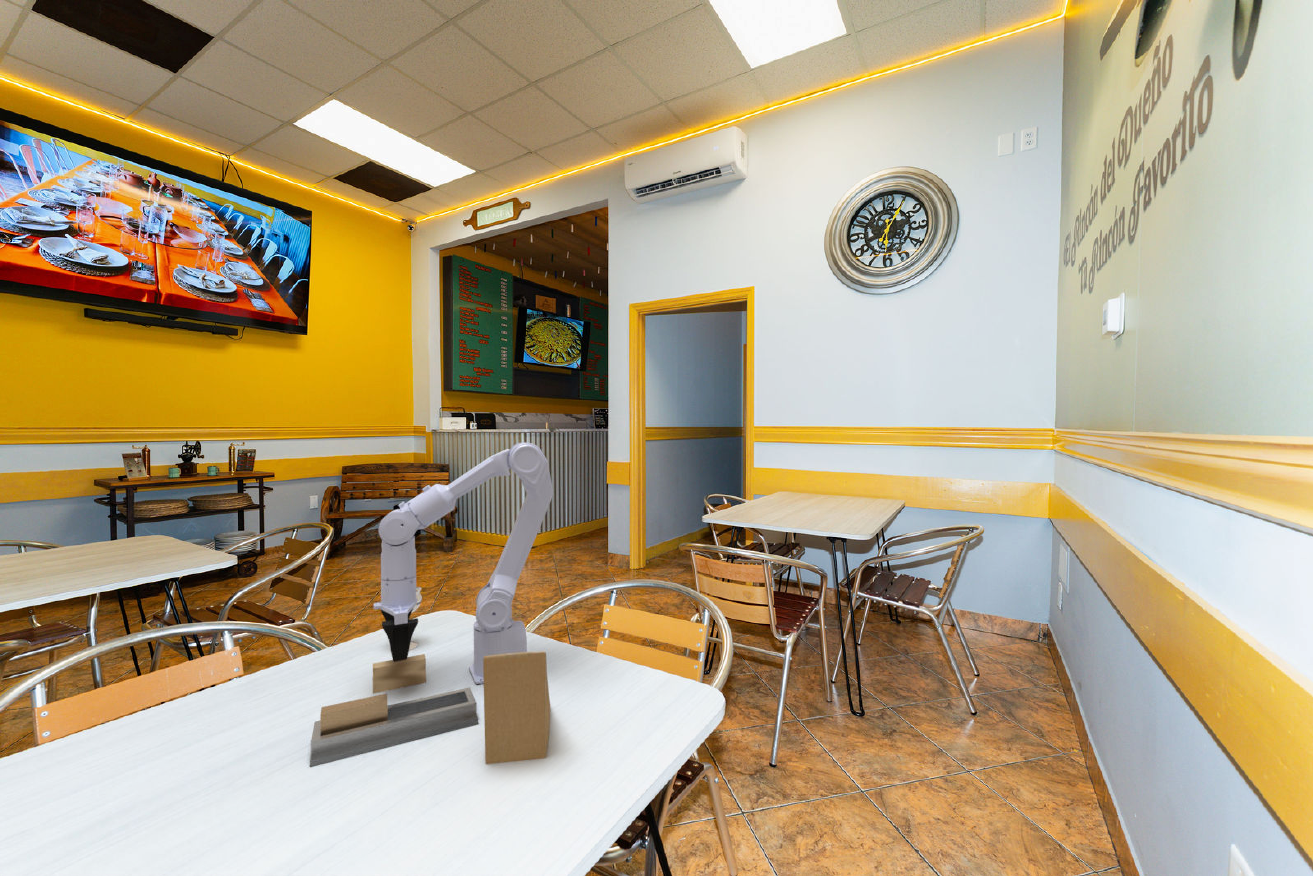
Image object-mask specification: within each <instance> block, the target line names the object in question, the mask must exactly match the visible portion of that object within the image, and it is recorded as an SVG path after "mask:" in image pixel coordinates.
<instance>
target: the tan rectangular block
mask: <svg viewBox="0 0 1313 876" xmlns="http://www.w3.org/2000/svg"><path fill="white" fill-rule="evenodd" d="M426 663H427V658H426V655H425V654H424V653H423V654H418V655H412V656H408V657H407V659H406V660H402V661H396V662H394V661H393V659H390V660H389V659H388V660H386V661H380V662H373V663H372V694H378V693H382V692H383V693H384V692H386V691H387V692H389V691H392V690H396V689H397V690H398V689H402V688H408V687H411V686H412V687H413V686H415V685H422V684H426V683H427V672H426V671H427V670H426V669H427V664H426Z"/></svg>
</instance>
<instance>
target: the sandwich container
mask: <svg viewBox="0 0 1313 876" xmlns="http://www.w3.org/2000/svg"><path fill="white" fill-rule="evenodd" d="M547 669H548V668H547V653H546V651H542V650H541V651H527V652H519V653H507V654H498V655H489V656H484V659H483V677H484V683H483V710H484V711H483V714H484V715H483V716H484V722H483V723H484V757H485V758H484V759H485V761H484V762H485V765H491V764H492V765H493V764H502V763H511V762H512V763H515V762H523V761H532V760H542V759H546V758H547V752H548V747H549V746H548V744H549V737H550V718H551V714H550V713H551V700H550V699H551V698H550V693H549V682H548V680H549V679H548V671H547Z"/></svg>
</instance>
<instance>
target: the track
mask: <svg viewBox="0 0 1313 876" xmlns="http://www.w3.org/2000/svg"><path fill="white" fill-rule="evenodd" d="M477 707H478V706H477V700H476V698H475V696H474V694H473V691H472V689H471V687H466V688H461V689H456V690H453V691H452V690H451V691H447V692H443V693H439V694H435V695H434V694H433V695H429V696H425V697H424V696H423V697H420V698H416V699H411V700H406V701H402V702H397V703H393V704H389V705H388V693H382V694H378V695H372V696H368V697H364V698H360V699H359V698H358V699H354V700H349V701H345V702H338V703H336V704H330V705H326V706H322V707H321V709H320V720H316V721H314V724H313V728H312V735H311V741H310V754H311V755H310V761H309V767H313V766H319V765H322V764H325V763H330V762H334V761H337V760H338V761H339V760H341V759H345V758H349V757H354V756H357V755H361V754H364V753H365V754H366V753H368V752H373V751H377V750H380V749H385V748H388V747H392V746H396V745H400V744H406V743H408V742H412V741H417V740H421V739H424V738H429V737H432V736H436V735H439V734H443V733H448V732H451V731H455V730H460V729H463V728H467V727H470V726H475V725H479V717H478V714H477V713H478V712H477Z"/></svg>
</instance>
